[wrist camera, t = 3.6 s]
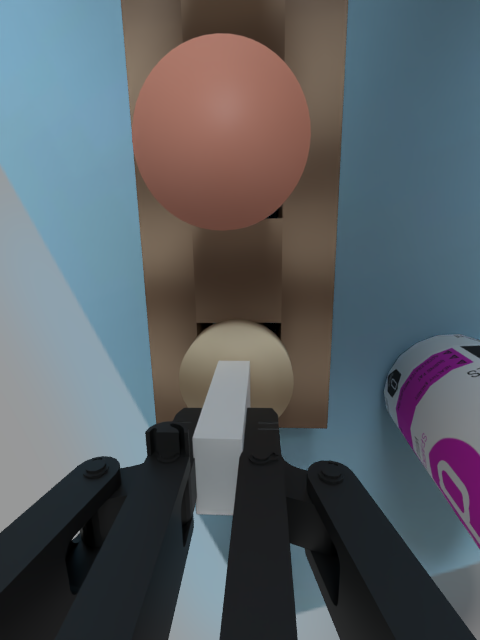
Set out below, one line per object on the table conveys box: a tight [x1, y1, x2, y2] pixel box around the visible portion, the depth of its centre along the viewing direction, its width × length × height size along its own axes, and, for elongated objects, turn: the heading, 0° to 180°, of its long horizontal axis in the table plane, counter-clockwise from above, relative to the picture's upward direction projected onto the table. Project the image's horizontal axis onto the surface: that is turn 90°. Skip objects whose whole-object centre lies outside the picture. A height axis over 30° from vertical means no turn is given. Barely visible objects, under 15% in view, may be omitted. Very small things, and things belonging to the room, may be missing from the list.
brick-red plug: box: [132, 33, 311, 231], centre depth 15 cm, size 6×6×7 cm
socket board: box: [121, 0, 348, 428], centre depth 20 cm, size 28×10×6 cm, turn 1°
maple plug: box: [179, 319, 294, 417], centre depth 21 cm, size 6×6×7 cm
